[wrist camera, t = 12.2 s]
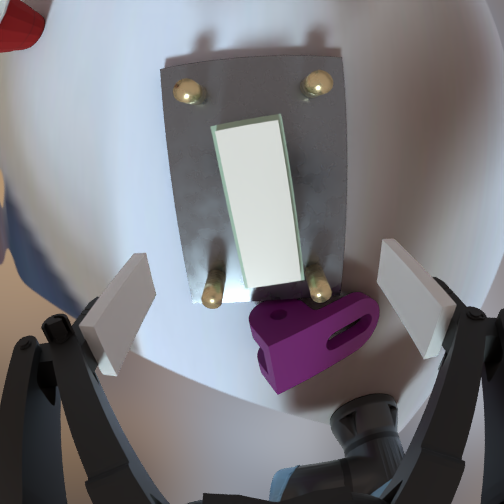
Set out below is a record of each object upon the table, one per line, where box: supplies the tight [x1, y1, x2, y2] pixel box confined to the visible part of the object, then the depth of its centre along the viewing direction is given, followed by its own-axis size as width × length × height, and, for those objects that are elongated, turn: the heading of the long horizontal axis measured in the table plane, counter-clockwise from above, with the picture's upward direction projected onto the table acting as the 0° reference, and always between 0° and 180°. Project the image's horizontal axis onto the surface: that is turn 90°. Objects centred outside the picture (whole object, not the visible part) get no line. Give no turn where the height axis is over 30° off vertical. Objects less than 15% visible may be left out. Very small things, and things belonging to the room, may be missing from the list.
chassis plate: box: [160, 56, 347, 309], centre depth 31 cm, size 30×20×6 cm, turn 4°
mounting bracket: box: [249, 292, 379, 394], centre depth 41 cm, size 10×8×18 cm
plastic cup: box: [0, 0, 45, 53], centre depth 18 cm, size 11×11×12 cm
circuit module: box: [210, 114, 305, 289], centre depth 29 cm, size 16×6×8 cm, turn 10°
